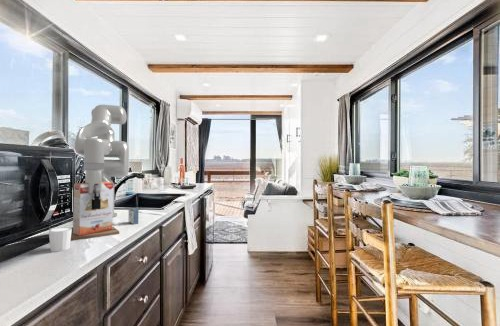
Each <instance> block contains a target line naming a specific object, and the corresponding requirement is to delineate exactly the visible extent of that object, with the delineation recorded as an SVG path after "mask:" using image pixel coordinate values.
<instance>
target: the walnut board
mask: <svg viewBox="0 0 500 326" xmlns="http://www.w3.org/2000/svg"><path fill="white" fill-rule="evenodd" d="M111 235H113V236H114V235H120V231H119V230H118V229H117V228H116V227H114V226H112V229H111V230H106V231H101V232H96V233H91V234H86V235H80V236H79V235H76V234H73V231H72V232H71V240H70V242H72V241H79V240H85V239H92V238H93V239H94V238H99V237H105V236H111Z"/></svg>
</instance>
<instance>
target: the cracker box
mask: <svg viewBox="0 0 500 326" xmlns="http://www.w3.org/2000/svg"><path fill="white" fill-rule="evenodd" d="M113 183H114V182H113ZM113 183H111V182H102V191H101V194H100V199H101V208H100V209H92V200H93V199H92V193H90V195H89V194H88V190H89V189H88V188H89V184H87V183H85V182H84V183H83V182H80V183H79V182H77V183H74V184H73V211H72V212H73V213H72V232H73V234H76V235H79V236H80V235H86V234H91V233H96V232H101V231H106V230H111V229H112V227H113V217H112V216H113ZM93 192H95V187H94V190H93ZM94 196H95V195H94Z"/></svg>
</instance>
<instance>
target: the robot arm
mask: <svg viewBox="0 0 500 326" xmlns="http://www.w3.org/2000/svg"><path fill="white" fill-rule="evenodd" d="M126 111H127V110H126V109H125V108H124V107H123V106H121V105H112V104H97V105H95V107H94V108H92V110H91V112H90V113H91V120H90V121H91V122H90V123H88V124H86V125H85V126H83V127H82V128H80V129H79V130H78V132H77V134H76V138H75V141H74V151H75V152H76V153H77V155H80V156H83V171H84V172H85V176H84V177H85V178H84V179H85V180H84V181H85V182H84V183H87V184H89V188H88V189H89V190H88V194H89V195H90V193H92V199H93V200H92V209H100V208H101V199H100V194H101V191H102V182H111V183H113V216H112V218H115V217H117V216H118V213H117V212H115V184H114V182H113V180H112V179H111V178H113V177H114V178H115V177H117V178H118V177H120V178H121V177H122V178H123V177H126V176H127V175H128V174H129V169H130V168H129V166H130V165H129V164H130V163H129V145H128V142H126V141H123V140H115V130H113V128H112V127H111V125H125V124H126V122H127V119H128V118H127V117H128V116H127V112H126ZM105 158H114V159H105ZM115 158H118V159H115ZM94 187H95V192H93V190H94ZM94 195H95V196H94Z"/></svg>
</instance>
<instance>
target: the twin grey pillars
mask: <svg viewBox="0 0 500 326" xmlns="http://www.w3.org/2000/svg"><path fill="white" fill-rule="evenodd" d="M128 222H129V223H130V224H132V225H138V224H139V209H137V208H135V207H131V208H129V209H128Z"/></svg>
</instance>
